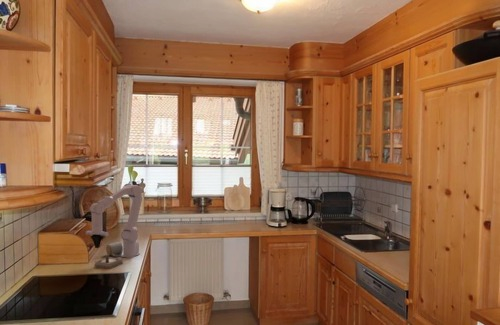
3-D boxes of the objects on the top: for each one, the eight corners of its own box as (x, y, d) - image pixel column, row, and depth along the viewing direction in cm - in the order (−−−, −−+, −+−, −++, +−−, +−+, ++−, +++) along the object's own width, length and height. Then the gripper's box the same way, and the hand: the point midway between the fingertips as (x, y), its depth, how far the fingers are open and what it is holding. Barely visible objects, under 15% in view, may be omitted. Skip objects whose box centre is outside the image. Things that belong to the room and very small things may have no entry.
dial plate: (106, 261, 222) (106, 256, 222) (122, 263, 218) (122, 258, 218) (94, 266, 212) (94, 261, 212) (110, 268, 209) (110, 263, 209)
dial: (103, 260, 219) (103, 252, 219) (117, 260, 220) (117, 251, 220) (99, 264, 211) (99, 255, 211) (114, 264, 212) (114, 255, 212)
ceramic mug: (105, 254, 237) (105, 242, 236) (117, 252, 243) (117, 240, 242) (112, 258, 229) (112, 246, 229) (125, 256, 235) (125, 243, 235)
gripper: (81, 224, 216) (82, 248, 216) (102, 226, 211) (102, 250, 211) (90, 222, 222) (90, 245, 223) (111, 224, 218) (111, 247, 218)
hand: (97, 247), depth 218 cm, fingers closed
